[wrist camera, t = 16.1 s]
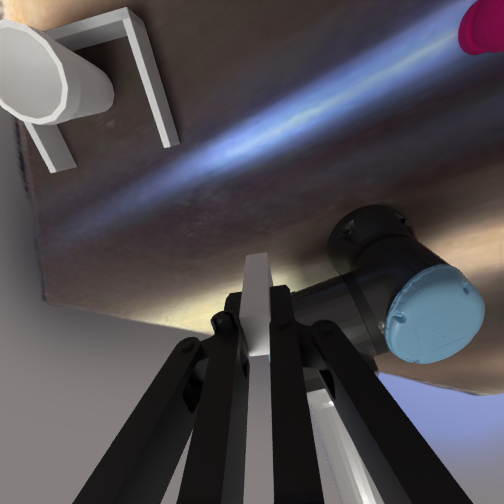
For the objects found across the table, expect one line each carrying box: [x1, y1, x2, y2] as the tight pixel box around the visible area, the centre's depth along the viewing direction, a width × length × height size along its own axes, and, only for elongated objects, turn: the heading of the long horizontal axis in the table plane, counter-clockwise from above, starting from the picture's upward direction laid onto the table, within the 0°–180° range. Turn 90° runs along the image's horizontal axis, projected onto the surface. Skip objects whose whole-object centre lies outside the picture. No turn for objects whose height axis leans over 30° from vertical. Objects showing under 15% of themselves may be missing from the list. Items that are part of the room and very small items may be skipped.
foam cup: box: [0, 19, 114, 125], centre depth 34 cm, size 10×9×13 cm
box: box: [24, 7, 180, 173], centre depth 38 cm, size 16×20×5 cm
